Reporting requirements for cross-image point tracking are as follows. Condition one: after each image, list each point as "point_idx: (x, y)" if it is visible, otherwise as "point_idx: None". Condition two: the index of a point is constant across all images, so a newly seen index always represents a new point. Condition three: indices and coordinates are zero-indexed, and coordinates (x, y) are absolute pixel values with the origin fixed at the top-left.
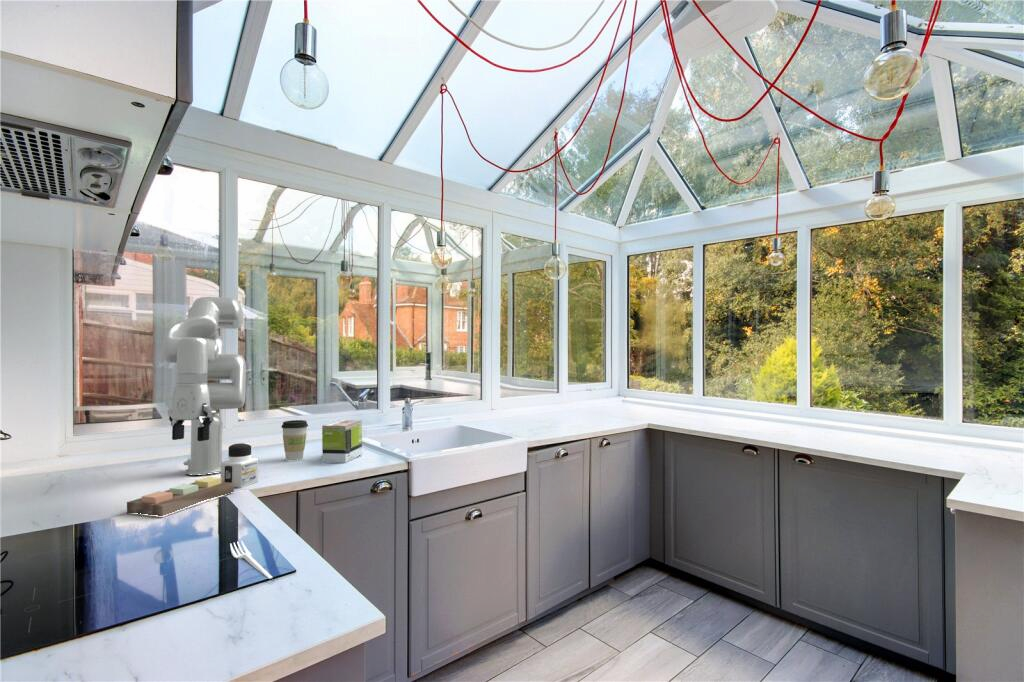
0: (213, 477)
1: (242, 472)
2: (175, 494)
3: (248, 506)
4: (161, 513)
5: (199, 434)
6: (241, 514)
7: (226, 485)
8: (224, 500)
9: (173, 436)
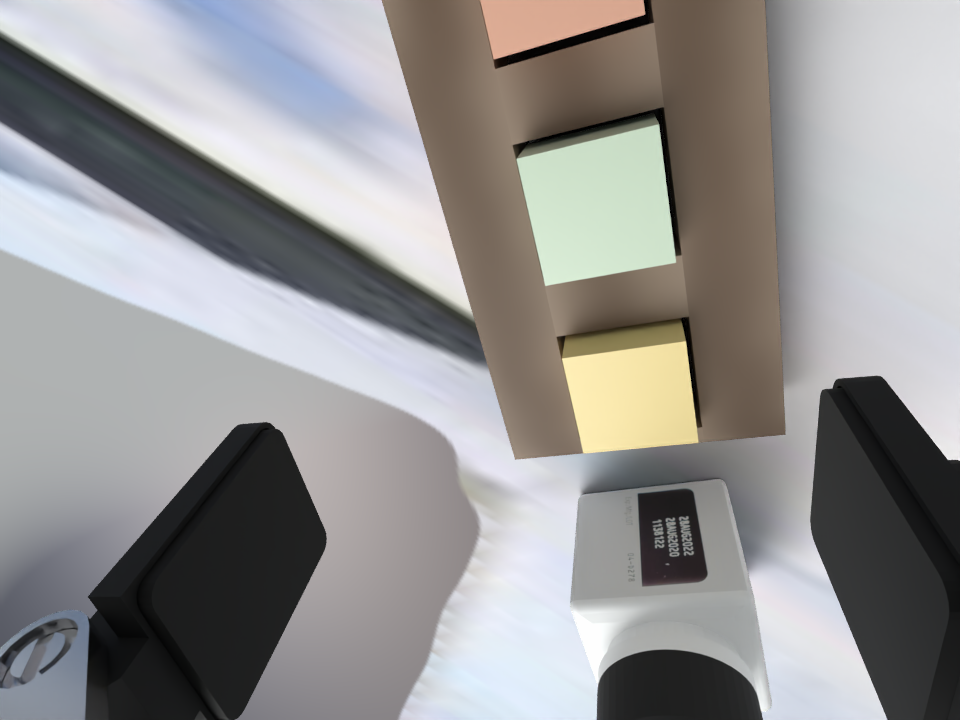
0: (650, 445)
1: (574, 565)
2: (595, 132)
3: (223, 305)
4: None
5: (184, 492)
6: (116, 208)
7: (501, 411)
8: (426, 318)
9: (865, 412)
